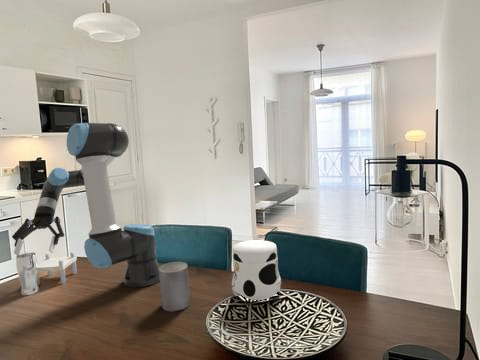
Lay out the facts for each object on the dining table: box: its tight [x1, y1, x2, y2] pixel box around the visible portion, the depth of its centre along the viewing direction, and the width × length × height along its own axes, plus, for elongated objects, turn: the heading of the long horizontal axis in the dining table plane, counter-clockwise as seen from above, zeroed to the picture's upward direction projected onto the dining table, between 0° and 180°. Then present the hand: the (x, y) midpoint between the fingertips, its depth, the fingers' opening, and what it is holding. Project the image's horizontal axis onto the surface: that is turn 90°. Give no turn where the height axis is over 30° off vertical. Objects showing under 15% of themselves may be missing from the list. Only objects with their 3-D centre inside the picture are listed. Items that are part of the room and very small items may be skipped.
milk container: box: [231, 239, 282, 300], centre depth 123 cm, size 17×17×18 cm
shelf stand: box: [37, 251, 78, 286], centre depth 151 cm, size 13×13×10 cm
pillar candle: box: [159, 261, 191, 313], centre depth 119 cm, size 10×10×15 cm
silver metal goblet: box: [15, 252, 40, 296], centre depth 137 cm, size 7×7×15 cm
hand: (33, 252), depth 144 cm, fingers open, 13 cm apart
